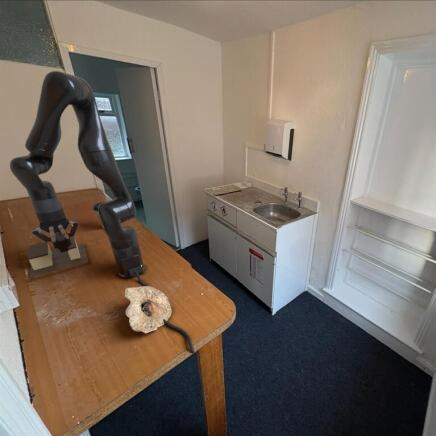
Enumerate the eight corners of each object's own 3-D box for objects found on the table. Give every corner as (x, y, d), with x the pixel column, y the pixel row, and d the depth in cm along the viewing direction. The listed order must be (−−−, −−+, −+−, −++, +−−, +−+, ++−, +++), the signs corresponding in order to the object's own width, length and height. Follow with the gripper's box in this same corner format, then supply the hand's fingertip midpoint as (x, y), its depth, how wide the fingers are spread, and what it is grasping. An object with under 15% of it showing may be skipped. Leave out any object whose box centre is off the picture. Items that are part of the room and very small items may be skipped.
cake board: (89, 263, 104) (88, 261, 104) (31, 280, 93) (30, 277, 92) (84, 245, 117) (83, 242, 116) (32, 257, 105) (31, 254, 105)
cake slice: (80, 257, 105) (76, 246, 103) (71, 260, 103) (66, 248, 101) (77, 246, 113) (73, 235, 110) (68, 248, 111) (64, 237, 108)
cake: (52, 265, 99) (47, 253, 97) (33, 270, 96) (28, 258, 93) (51, 252, 107) (47, 241, 104) (34, 257, 103) (29, 245, 101)
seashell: (175, 330, 84) (181, 318, 81) (128, 349, 73) (133, 336, 69) (158, 290, 92) (163, 278, 89) (114, 302, 81) (118, 288, 78)
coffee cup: (115, 223, 140) (109, 200, 133) (124, 228, 135) (118, 204, 129) (96, 229, 132) (88, 204, 126) (105, 234, 128) (97, 209, 121)
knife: (68, 250, 94) (63, 237, 91) (60, 252, 92) (55, 239, 90) (64, 231, 107) (60, 218, 104) (57, 232, 105) (52, 220, 103)
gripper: (21, 216, 82) (40, 257, 89) (73, 207, 91) (87, 245, 98) (22, 209, 86) (40, 249, 94) (71, 202, 95) (84, 238, 103)
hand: (64, 247), depth 96 cm, fingers closed on knife, 2 cm apart
